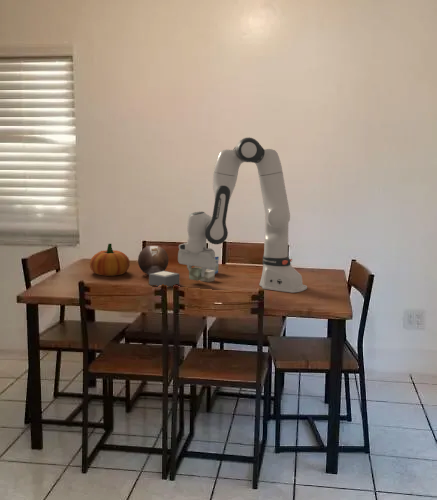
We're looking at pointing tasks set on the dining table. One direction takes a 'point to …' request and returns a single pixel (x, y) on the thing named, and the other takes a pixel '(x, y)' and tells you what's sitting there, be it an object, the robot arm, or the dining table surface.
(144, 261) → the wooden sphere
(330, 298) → the dining table surface
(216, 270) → the medicine box
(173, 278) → the base block
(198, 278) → the sage block
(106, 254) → the pumpkin
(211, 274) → the off-white block
